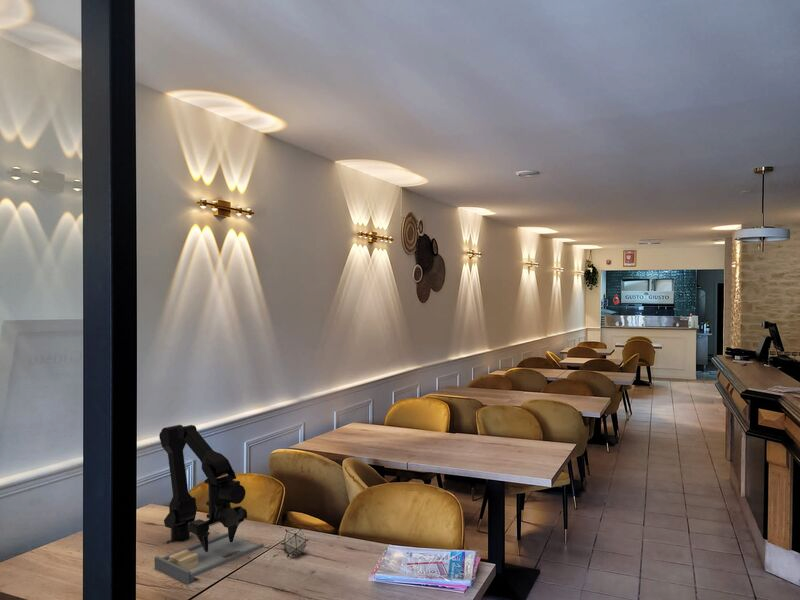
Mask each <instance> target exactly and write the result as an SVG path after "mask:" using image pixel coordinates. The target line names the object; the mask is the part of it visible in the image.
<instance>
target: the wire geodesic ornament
mask: <svg viewBox="0 0 800 600" xmlns="http://www.w3.org/2000/svg"><path fill="white" fill-rule="evenodd" d="M302 528H303V527H302V526H300V528H299V529H293V530H288V529H287V528H285V532H286V533H285V536H284V538H283V541H282V542H281V543H280V545H281V546H283V547H284V549H285V551H286V552H287V553H288V554H287V555H286V557H287V558H289V556H290V555H297V554H302V555H304V554H305V553H304V550H305V546H306V543H307V542H308V541H309V539H307V538H306V536H305V535H304V533H303V531H302Z"/></svg>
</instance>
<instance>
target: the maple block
mask: <svg viewBox="0 0 800 600" xmlns="http://www.w3.org/2000/svg"><path fill="white" fill-rule="evenodd" d="M185 549H186V548H185ZM180 551H181V550H180ZM168 561H170V562H172V563H174V564H176V565H178V566H181V567H183V568H185V569H187V570H191V569H193V568H196V567H198V554H197V553H195V552H192V551H190V550H187V549H186V550H184V551H181V552H179V553H176V554H174V555H171V556H169V560H168Z"/></svg>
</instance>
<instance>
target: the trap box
mask: <svg viewBox="0 0 800 600" xmlns="http://www.w3.org/2000/svg"><path fill="white" fill-rule="evenodd" d="M263 548H264V543H259V544H254V543H251V542H249V541H245V540H244V539H243V540H242V539H240V538H237V537H235V536H234V539H233V542H230V541H229V535H228V532H226V533H223V534H221V535H218V536H215V537H212V538H210V539H208V552H205V550H204V548H203V546H202V544H201V542H200V543H197V544H193V545H191V546H189V547H187V548H183V549H181V550H178V551H175V552H174V553H170V554H168V555H165V556H163V557H161V556H158V555H157V556H154V569H155V570H156V571H160V572H161V573H163V574H166V575H167V576H169V577H172V578H174V579H175V580H177V581H179V582H182V583H183V584H186V585H190V584H192V583H194V582H197V581H199V580H200V579H199V578H198V577H197V576H199V575H202V574H204V573H207V572H209V571H211V570H214V569H216V568H217V567H220V566H223V565H226V564H229V562H231V561H235V560H236V559H239V558H241V557H243V556H247V555H248V554H251V553H254V552H255V551H259V550H261V549H263ZM186 549H187V550H190V551H192V552H195V553H197V554H198V566H196V567H193V568H191V569H189V570H187V569H185V568H183V567H181V566H178V565H176V564H174V563H172V562H170V561H169V556H171V555H174V554H176V553H179V552H181V551H184V550H186ZM237 551H238V552H237ZM234 552H237V553H234ZM232 553H234V554H232ZM230 554H232V555H230ZM227 555H229V556H228V557H226V558H225V557H224V556H227Z"/></svg>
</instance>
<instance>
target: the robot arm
mask: <svg viewBox="0 0 800 600" xmlns="http://www.w3.org/2000/svg"><path fill="white" fill-rule="evenodd" d="M159 441H160V445H161V447H162V448H163V449H164V451H165V452H166V453H167V457H168V458H167V459H168V467H169V474H170V481H171V491H172V498H171V500H170V503H169V505H168V509H169V512H168V513H167V515H166V517H164V519H163V523H164V527H165V528H168V529H170V539H169V540H167V541H166V543H167V544H171V543H174V542H182V543H183V542H186V541H189V540H190V539H191V536H190V534H194V535H196V537H197V538H198V541H199V542H200V543H201V544H202V546H203V548H204V550H205V552H208V540H209V536H210V533H211V532H210V531H209V530H210V527H211V526H215V525H217V524H220V523H221V524H222V526H223V527H224V528H225V529H226V528H227V533H228V535H229V541H230V542H233V539H234V537H235V536H236V532H237V530H238V528H239V525H240V524H241V523H243V522H244V521H245V519H247V518H248V511H247V509H246V508H244V507H243V506H241V505H239V506H238V504H240V503H242V502H243V500H245V497H246V493H247V492H246V489H245V487H244V486H243V485H241V481H240V480H237V476H236V472H235V470H234V469H233V467H232V464H231V463H230V461H229V459H228V458H227V457H226V456H224V455H223V454H222V453H220V452H219V451H215V450H214V449H213V448H212V446H210V444H209V443H208V442H207V441H206V440H205V438H204V437H203V436H202V435H201V433H199V432H198V429H197V427H196V426H195V425H193V424H189V425H186V426H185V425H184V426H183V425H182V424H177V425H171V426H167V427H163V428H162V429H161V431H160V432H159ZM186 444H187V446H188V447H189V449H190V450H191V451H192V452H193V453H194V455H195V456H196V457H197V458H198V459H199V461H200V462H201V470H202V472H203V473H204V475H205V477H206V479H205V480H204V481H203V482H204V484H208V489H207V490H208V492H207V493H208V500H207V501H206V506H208V513H207V514H206V518H207V520H203V519H196V515H197V511H198V506H197V499H196V497H195V496H192V495H191V494H190V493H189V486H188V480H187V478H188V477H187V472H186V464H185V456H184V449H185V446H186ZM231 504H234V505H237V506H234V507H232V506H231Z"/></svg>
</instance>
